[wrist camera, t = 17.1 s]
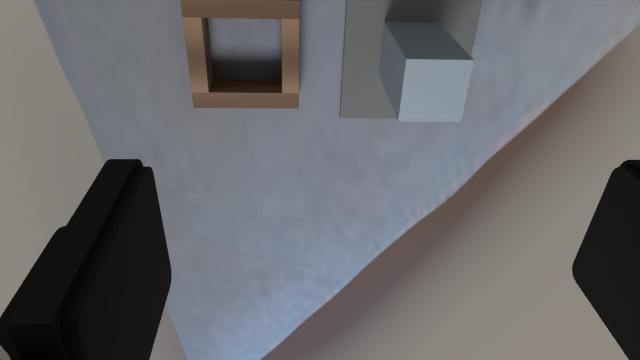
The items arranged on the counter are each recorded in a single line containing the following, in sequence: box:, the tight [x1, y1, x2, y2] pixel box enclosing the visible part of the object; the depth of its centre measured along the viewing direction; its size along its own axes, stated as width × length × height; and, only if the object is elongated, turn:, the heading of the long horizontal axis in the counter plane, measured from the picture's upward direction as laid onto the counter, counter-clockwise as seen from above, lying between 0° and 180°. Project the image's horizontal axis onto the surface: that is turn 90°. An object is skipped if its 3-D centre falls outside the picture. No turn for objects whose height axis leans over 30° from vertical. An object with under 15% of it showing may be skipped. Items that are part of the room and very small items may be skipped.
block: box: [379, 22, 474, 122], centre depth 41 cm, size 5×5×10 cm
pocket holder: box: [181, 0, 299, 108], centre depth 43 cm, size 10×10×3 cm
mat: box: [340, 0, 482, 118], centre depth 45 cm, size 14×12×1 cm
